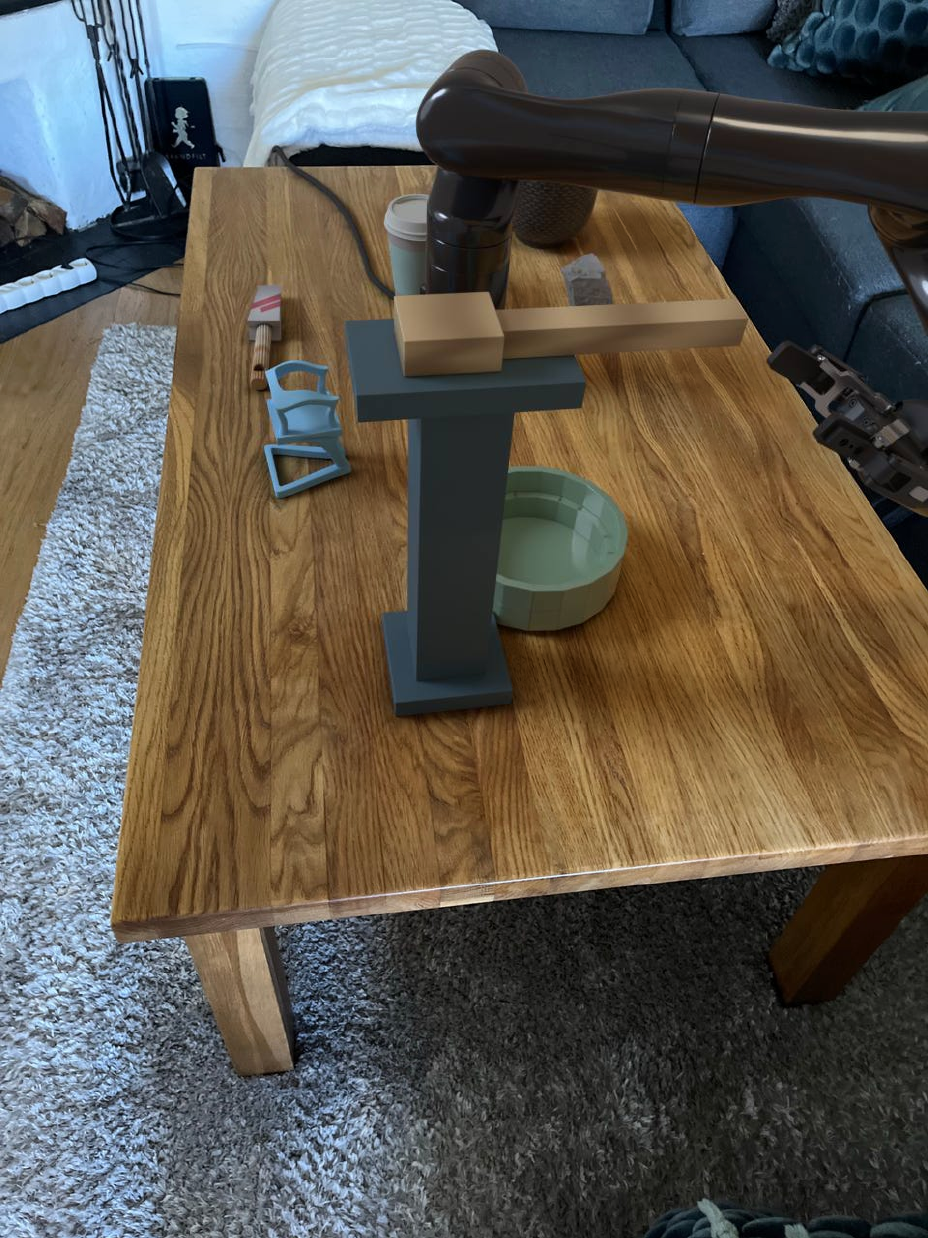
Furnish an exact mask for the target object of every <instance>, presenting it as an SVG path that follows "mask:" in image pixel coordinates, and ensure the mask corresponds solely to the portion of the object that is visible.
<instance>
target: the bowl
mask: <svg viewBox="0 0 928 1238" xmlns="http://www.w3.org/2000/svg"><path fill="white" fill-rule="evenodd" d="M628 540H629V530H628V526H627V522H626V518H625V515H624V512H623V511H622V509H620V507H619V506H618V505H617V503H616V502H615V500H614V499H613V497H612V496H611V495H610V494H608V493H607V492H605V491H604V490H603V489H602V488H600V487H599V486H598V485H596V484H595V483H594V482H592V481H591V480H589V479H586V478H584V477H582V476H580V475H577V474H575V473H573V472H570V471H568V470H564V469H560V468H559V469H558V468H553V467H549V466H545V465H513V466H509V469H508V478H507V487H506V496H505V505H504V514H503V523H502V532H501V541H500V549H499V558H498V567H497V576H496V585H495V594H494V603H493V612H494V616H495V620H496V624H497V625H499V626H505V627H508V628H513V629H518V630H522V631H526V632H527V631H528V632H529V631H530V632H532V631H533V632H537V631H538V632H539V631H541V632H543V631H559V630H562V629H565V628H566V629H567V628H569V627H572V626H577V625H580V624H583V623H585V622H586V621H587V620H589V619H591V618H592V617H594V616H596V615H597V614H598V613H600V612H601V611H603V610H604V608H605V607H606V605H607V604H608V602H609V601H610V600H611V598H612V597H613V596H614V595H615V593H616V589H617V585H618V582H619V577H620V575H621V569H622V566H623V562H624V558H625V554H626V549H627V545H628Z"/></svg>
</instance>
